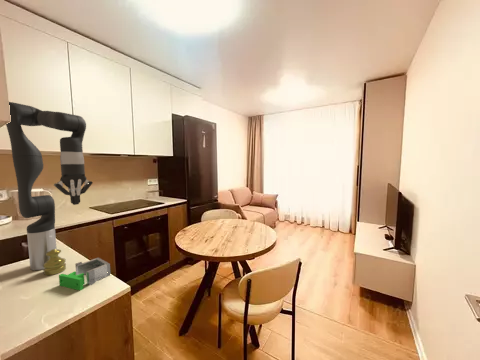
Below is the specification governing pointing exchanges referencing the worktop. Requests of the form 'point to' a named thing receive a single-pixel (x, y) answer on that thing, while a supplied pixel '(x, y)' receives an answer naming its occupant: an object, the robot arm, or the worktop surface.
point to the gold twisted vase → (54, 263)
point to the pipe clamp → (72, 280)
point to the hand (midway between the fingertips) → (75, 204)
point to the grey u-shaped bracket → (93, 270)
